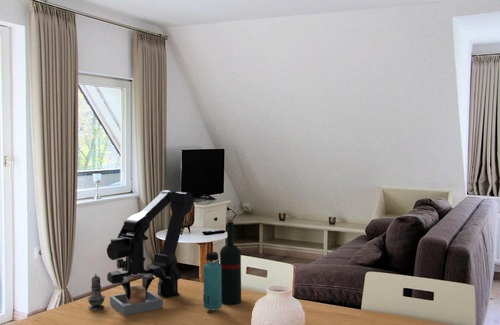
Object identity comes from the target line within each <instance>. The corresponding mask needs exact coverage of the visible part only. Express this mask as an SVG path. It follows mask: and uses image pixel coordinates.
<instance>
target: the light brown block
mask: <svg viewBox="0 0 500 325" xmlns="http://www.w3.org/2000/svg"><path fill="white" fill-rule="evenodd" d="M127 302H129V303H130V304H137V303H142V302H146V293H145V288H144V287H143V286H142V284H136V285H130V300H128V298H127Z"/></svg>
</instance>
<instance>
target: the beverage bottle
mask: <svg viewBox="0 0 500 325" xmlns="http://www.w3.org/2000/svg"><path fill="white" fill-rule="evenodd" d="M205 260H206V261H207V262H206V263H205V264H204V265H203V266H202V267H203V268H202V269H203V275H202V279H203V282H202V284H203V295H202V300H203V308H204V309H205V310H206V309H207V310H219V309H221V308H222V306H223V304H222V284H221V267H222V266H221V265H220V262H219V261H218V260H219V254H218V252H215V251H213V252H207V253H206V257H205Z"/></svg>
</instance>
